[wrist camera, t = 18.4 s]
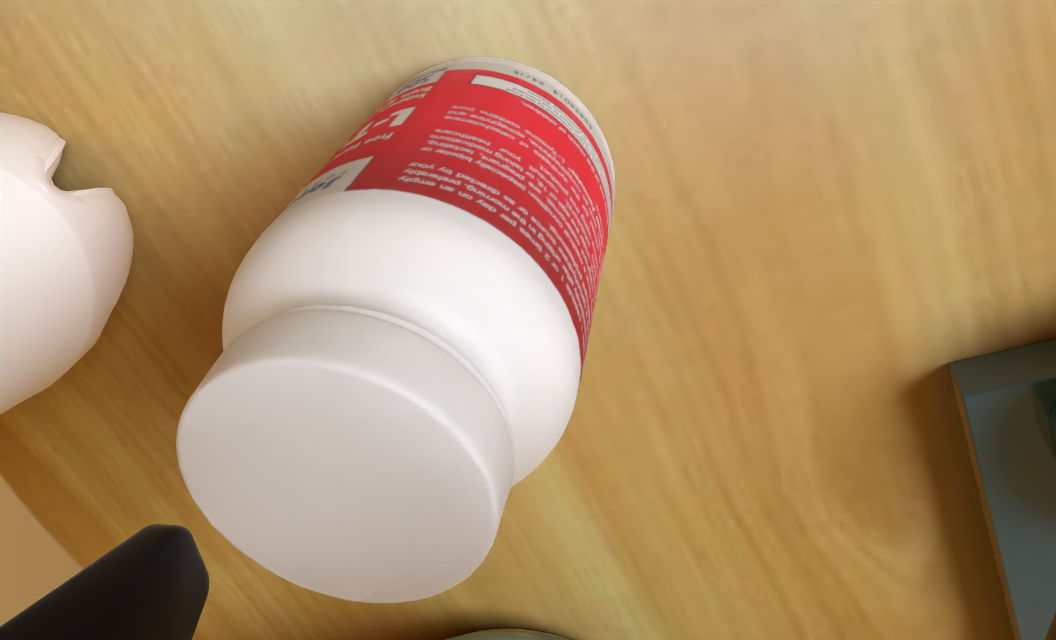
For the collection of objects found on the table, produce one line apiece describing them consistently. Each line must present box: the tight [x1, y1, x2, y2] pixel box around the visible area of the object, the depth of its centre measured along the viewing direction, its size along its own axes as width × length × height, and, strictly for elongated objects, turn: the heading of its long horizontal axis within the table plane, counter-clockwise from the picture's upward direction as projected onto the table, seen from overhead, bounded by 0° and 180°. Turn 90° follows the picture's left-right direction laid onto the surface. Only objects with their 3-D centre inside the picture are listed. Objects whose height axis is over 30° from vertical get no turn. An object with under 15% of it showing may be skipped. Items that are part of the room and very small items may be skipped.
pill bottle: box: [176, 57, 615, 603], centre depth 16 cm, size 6×6×11 cm
